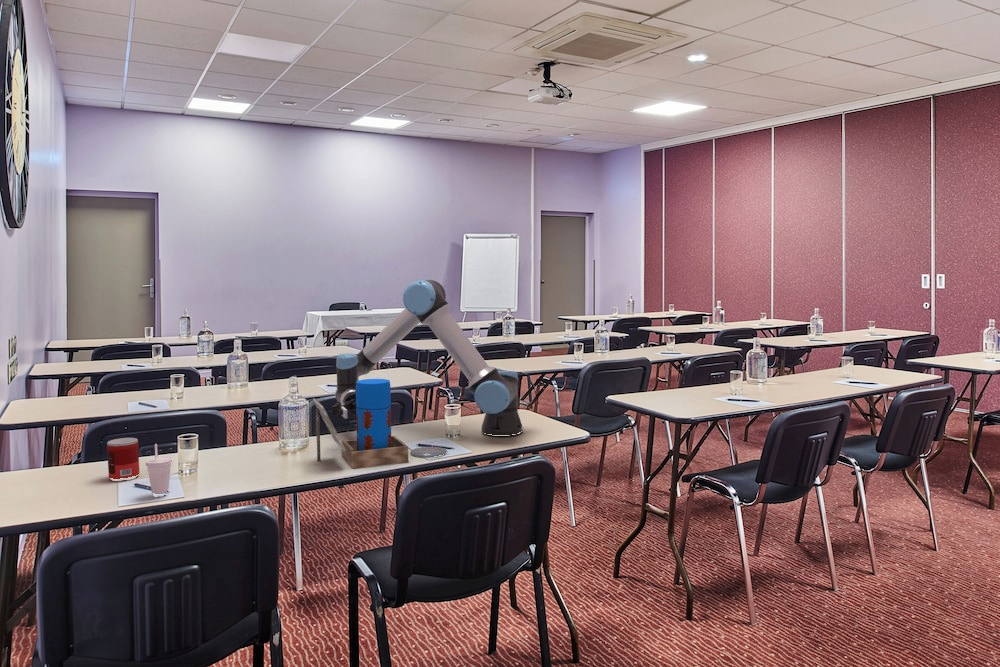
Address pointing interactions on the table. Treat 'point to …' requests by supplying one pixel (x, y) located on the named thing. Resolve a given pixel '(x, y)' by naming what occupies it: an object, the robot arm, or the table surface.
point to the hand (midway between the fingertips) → (367, 412)
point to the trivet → (427, 452)
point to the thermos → (373, 414)
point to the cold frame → (366, 457)
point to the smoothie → (159, 473)
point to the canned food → (123, 458)
